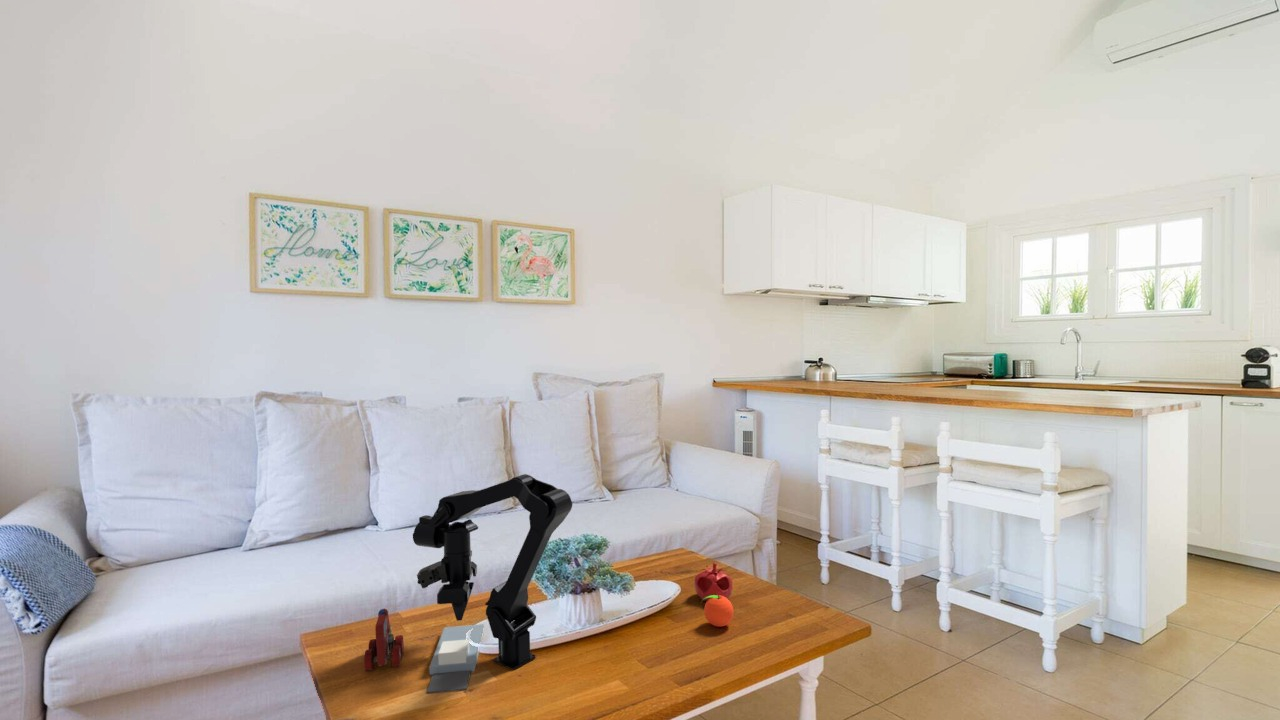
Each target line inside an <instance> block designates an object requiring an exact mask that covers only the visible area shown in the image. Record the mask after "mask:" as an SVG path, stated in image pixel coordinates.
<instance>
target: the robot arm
mask: <svg viewBox="0 0 1280 720" xmlns="http://www.w3.org/2000/svg"><path fill="white" fill-rule="evenodd" d="M510 498H516V499H517V500H518V502H519V503H520V505H521V506H522V508H523V509H524V510H526V511H528V512H529V516H528V518H529V529H528V532H527V535H526V537H525V539H524V541H523V543H522V547H521V548H520V550H519V553H518V555H517V557H516V559H515V562H514V564H513V567H512V568H511V571H510V572H509V575H508V578H507V580H506V581H504V582H503V583H501V584H499V585H497V586H495V587H493V588H492V589H491V592H490V595H489V597H488V600H487V602H485V604H484V605H485V606H486V609H485V615H486V618H487V621H488V623H489V628H490V631H491V634H492V637H493V638H494V639H497V640H498V641H497V642H498V643H497V644H498V656H497V657H494V659H493V662H494V663H496V664H499V665H501V666H504V667H506V668H509V669H510V670H516V669H518V668H520V667H522V666H523V665H526V664H527V663H529V662H530V661H533V660H535V659H536V657H537V655H536V654H534V653H531V637H530V636H531V634H530V633H531V632H530V631H529V628H531V627H532V626H534V625H535V623H536V620H537V615H536V614H535V613H534V611H533V610H532V609H531V607H530V606H529V605H528V600H529V592H528V589H529V588H528V587H529V585H530V583H531V580H532V579H533V576H534V574H535V572H536V570H537V567H538V565H539V564H540V561H541V558H542V556H543V555H544V552H545V550H546V548H547V545H548V543H549V541H550V539H551V537H552V534H553V533H554V532H555V531H556V530H557V528H559V526H560V525H561V524H562V523H563V522H564V521H565V519H566V518H567V517H568V516H569V514H570V512H571V510H572V509H573V501H572V498H571V496H570V494H569V492H567V491H566V490H564V489H561V488H557V487H555V486H554V485H552V484H549V483H547V482H544V481H542V480H538V479H536V478H534V477H533V476H532V475H530V474H527V473H525V474H524V473H523V474H520V475H517V476H514V477H512V478H510V479H508V480H506V481H502V482H501V483H497V484H494V485H491V486H489V487H485V488H482V489H479V490H478V489H477V490H476V489H474V490H465V491H464V490H463V491H462V490H461V491H458V492H455V493H453V494H450V495H447V496H443V497H442V498H441V497H440V499H439V501H438V505H437V508H436V510H435V512H434V514H433V515H432V516H431V515H422V516H420V517H419V518H418V520H419V521H418V523H417V524H416V526H415V527H414V530H413V533H412V541H413V543H414V544H415V545H416V546H418V547H424V548H431V549H432V548H433V549H442V548H443V557H442V558H441V560H439V561H437V562H434V563H432V564H429V565H427V566H425V567H422V568H421V569H420V570H419V571H418V572H417V574H416V577H417V584H418V585H420V587H421V589H426V588H428V587H429V586H431V585H433V584H436V583H437V582H441V584H442V586H441V587H440V588H439V589H438V592H437V594H436V601H437V602H436V603H437V605H447V604H448V605H449V604H451V606H452V610H453V613H454V616H455V619H456V621H457V622H458V621H462V620H463V617H464V615H465V611H466V609H467V606H468V603H469V601H470V600H469V599H470V597H471V595H472V594H471V593H472V591H473V588H474V585H475V583H474V582H473V581H472V582H469V581H471V580H472V576H473V577H477V573H478V565H477V564H476V563H475V562H474V561H472V556H473V550H471V548H472V547H471V533H472V532H474V531H477V530H478V529H479V526H478V525H477V524H476V523H474V522H473V521H472V519H471V518H469V519H467V520H464V521H459V520H461V519H464V518H467V517H470V516H471V515H473V514H475V513H476V512H478V511H479V510H481V509H482V508H484V507H486V506H489V505H492V504H495V503H498V502H501V501H505V500H507V499H510ZM450 523H451V524H450Z"/></svg>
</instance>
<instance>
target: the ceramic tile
mask: <svg viewBox="0 0 1280 720" xmlns="http://www.w3.org/2000/svg"><path fill="white" fill-rule="evenodd" d="M468 654H469V639H467V640H455V641H443V642H442V645H441V648H440V650H439V653H438V658H439V665H446V664H457V663H466V661H467V658H468Z"/></svg>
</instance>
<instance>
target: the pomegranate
mask: <svg viewBox="0 0 1280 720" xmlns="http://www.w3.org/2000/svg"><path fill="white" fill-rule="evenodd" d="M719 567H720V565H718V564H717V562H712V568H711V566H710V565H706V566H705V568H702V569H700V570H699V571H700V572H699V573H698V574H696V575H695V577H694V580H693V581H694V590H695V593H696V594H697V595H698V597H699V598H700V599H701V601H702V600H703V599H704V598H706V597H708V596H711V595H721V596H724V597H726V598H727V599H728V600H729V598H730V597H731V595H732V592H733V589H734V588H733V580H732V578H731V577H730V576H729V575H728V574H726V573H724V572H723V571H726V568H725V569H724V568H719ZM706 568H708V569H706ZM718 568H719V569H718ZM708 599H710V598H706V599H704V600H703V601H705V602H707V601H708Z"/></svg>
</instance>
